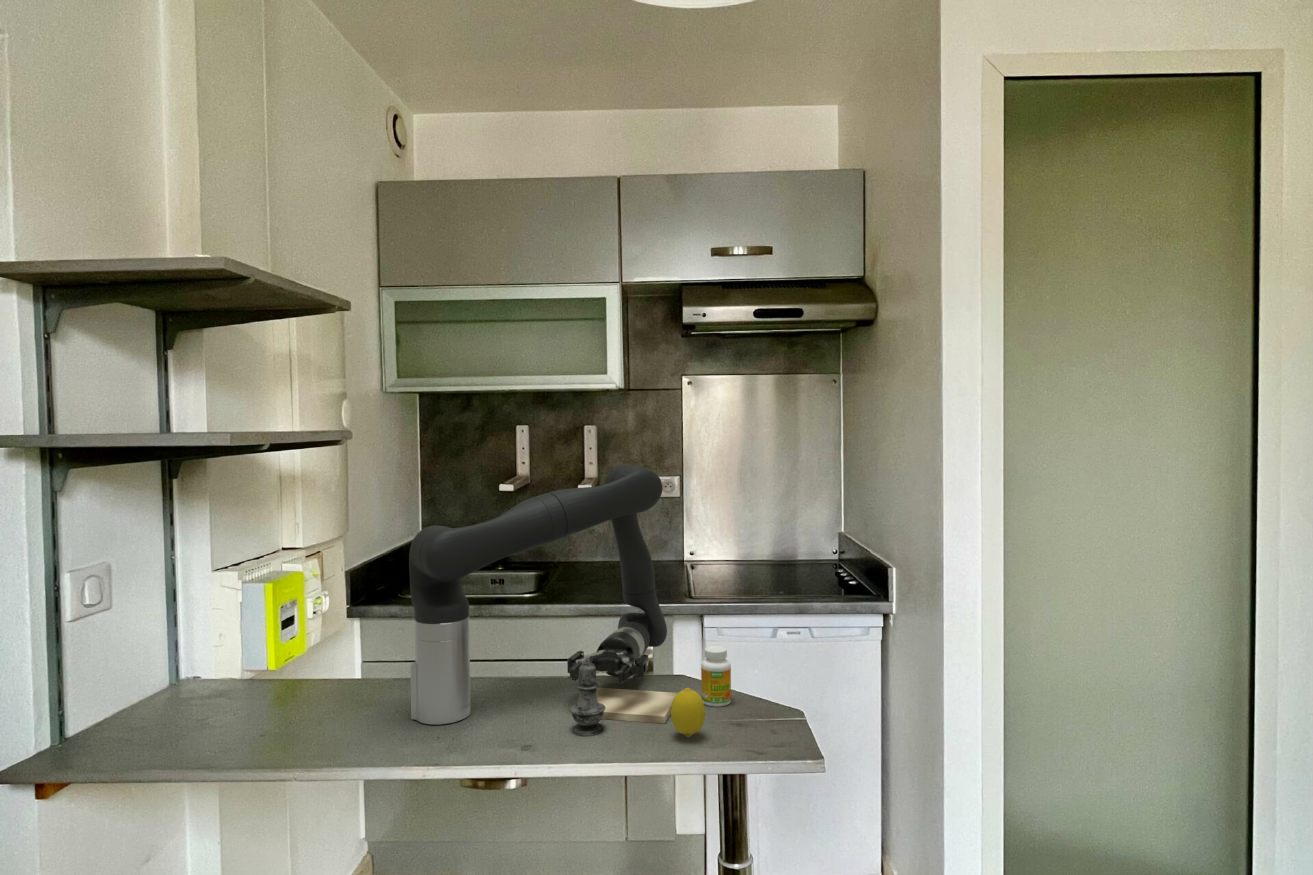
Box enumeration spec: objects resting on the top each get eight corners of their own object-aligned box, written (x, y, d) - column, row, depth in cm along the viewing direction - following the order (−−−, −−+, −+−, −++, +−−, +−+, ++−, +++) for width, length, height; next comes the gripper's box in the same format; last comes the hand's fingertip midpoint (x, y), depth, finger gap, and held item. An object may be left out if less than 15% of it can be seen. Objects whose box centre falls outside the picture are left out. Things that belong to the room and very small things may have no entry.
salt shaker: (600, 737, 124) (599, 663, 124) (565, 735, 125) (564, 661, 125) (609, 723, 129) (608, 653, 129) (576, 721, 131) (575, 651, 131)
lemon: (666, 741, 122) (665, 691, 122) (677, 728, 127) (676, 680, 127) (699, 746, 120) (699, 695, 120) (709, 732, 125) (708, 684, 125)
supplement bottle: (709, 709, 136) (708, 654, 136) (696, 699, 141) (696, 646, 141) (736, 704, 138) (735, 651, 138) (723, 695, 143) (722, 643, 143)
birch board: (575, 716, 133) (575, 709, 133) (596, 693, 145) (596, 687, 145) (664, 723, 129) (664, 716, 129) (678, 699, 141) (678, 692, 141)
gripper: (586, 629, 150) (557, 652, 134) (657, 632, 147) (636, 656, 131) (586, 667, 150) (558, 695, 134) (657, 672, 147) (636, 700, 131)
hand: (596, 676), depth 132 cm, fingers open, 8 cm apart
